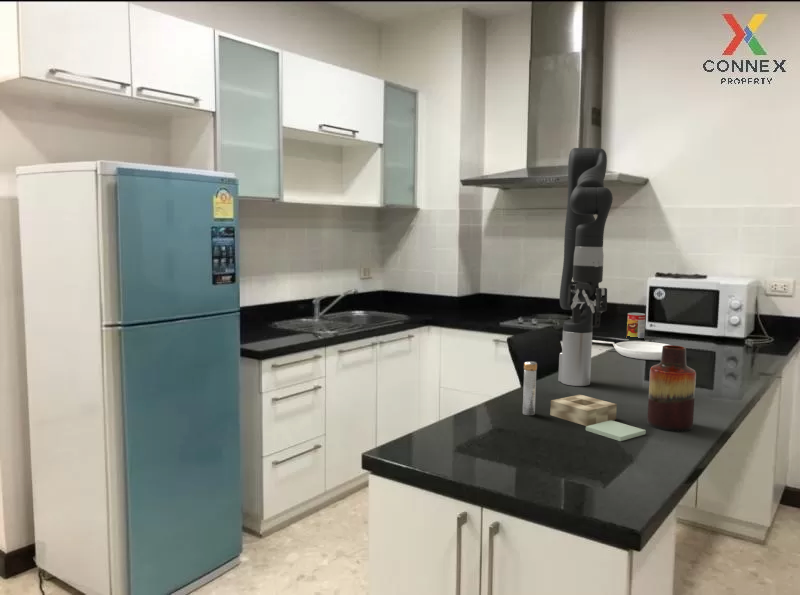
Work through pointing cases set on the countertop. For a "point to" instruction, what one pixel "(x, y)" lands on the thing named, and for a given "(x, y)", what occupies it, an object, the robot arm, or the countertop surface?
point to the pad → (615, 430)
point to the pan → (638, 349)
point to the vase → (671, 391)
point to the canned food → (636, 325)
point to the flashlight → (529, 388)
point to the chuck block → (583, 410)
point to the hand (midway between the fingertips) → (585, 325)
